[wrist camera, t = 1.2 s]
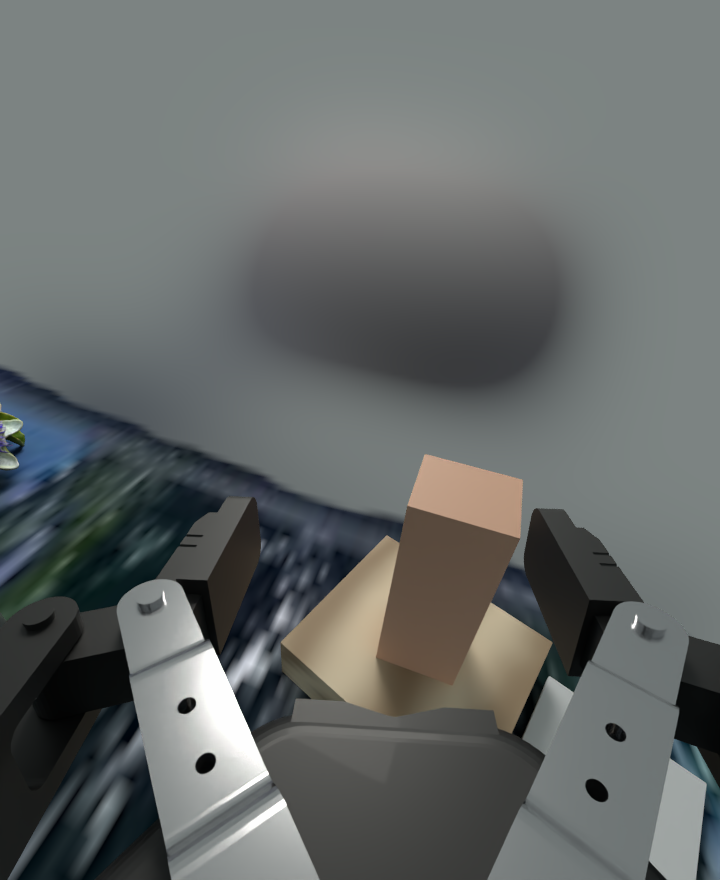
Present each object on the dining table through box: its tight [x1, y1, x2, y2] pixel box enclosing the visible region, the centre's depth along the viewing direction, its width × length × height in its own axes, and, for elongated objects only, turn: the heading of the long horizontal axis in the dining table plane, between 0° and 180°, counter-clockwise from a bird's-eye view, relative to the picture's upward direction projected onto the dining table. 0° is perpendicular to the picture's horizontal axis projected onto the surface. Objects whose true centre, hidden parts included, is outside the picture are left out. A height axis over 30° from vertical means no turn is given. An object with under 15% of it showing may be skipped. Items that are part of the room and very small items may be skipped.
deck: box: [281, 536, 552, 734], centre depth 31 cm, size 14×12×4 cm
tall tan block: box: [376, 454, 523, 686], centre depth 25 cm, size 5×4×14 cm
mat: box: [522, 676, 706, 880], centre depth 25 cm, size 10×16×1 cm, turn 142°
